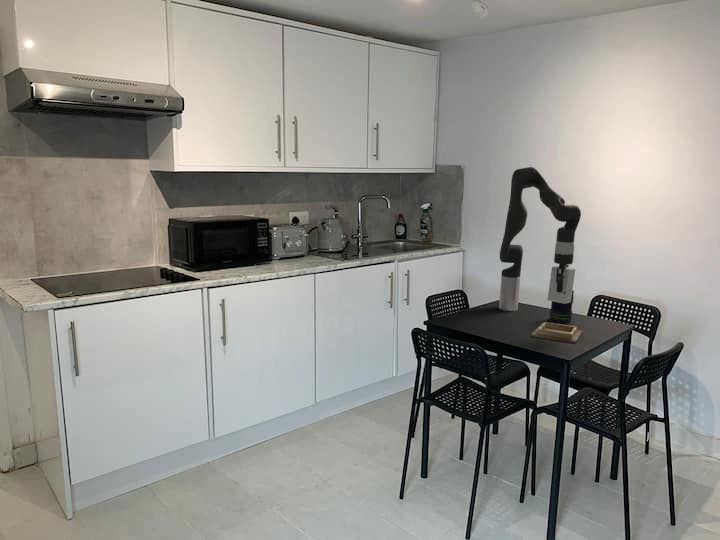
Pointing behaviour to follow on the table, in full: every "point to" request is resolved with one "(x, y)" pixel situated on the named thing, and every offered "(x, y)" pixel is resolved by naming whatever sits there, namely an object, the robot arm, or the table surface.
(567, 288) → the skincare box
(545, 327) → the plate
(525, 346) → the table surface
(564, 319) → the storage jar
